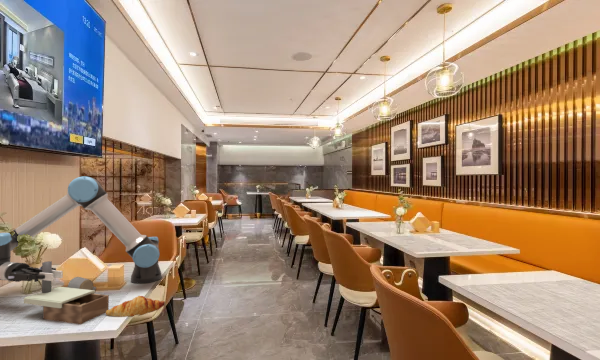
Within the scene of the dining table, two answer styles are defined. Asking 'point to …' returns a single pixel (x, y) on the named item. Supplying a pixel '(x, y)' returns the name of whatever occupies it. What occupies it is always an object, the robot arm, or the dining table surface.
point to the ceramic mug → (81, 283)
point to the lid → (54, 292)
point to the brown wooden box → (79, 309)
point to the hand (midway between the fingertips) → (57, 275)
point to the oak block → (74, 303)
